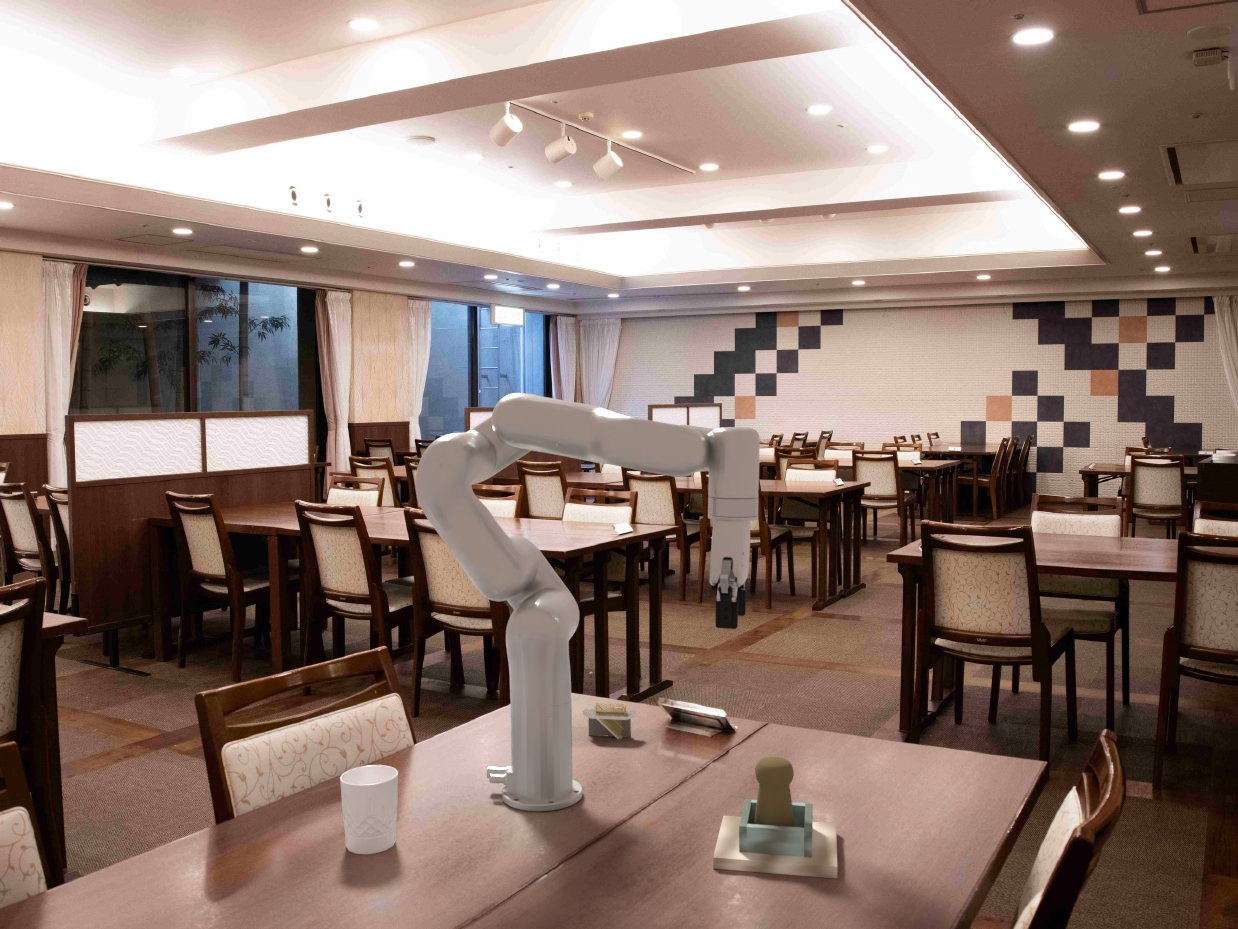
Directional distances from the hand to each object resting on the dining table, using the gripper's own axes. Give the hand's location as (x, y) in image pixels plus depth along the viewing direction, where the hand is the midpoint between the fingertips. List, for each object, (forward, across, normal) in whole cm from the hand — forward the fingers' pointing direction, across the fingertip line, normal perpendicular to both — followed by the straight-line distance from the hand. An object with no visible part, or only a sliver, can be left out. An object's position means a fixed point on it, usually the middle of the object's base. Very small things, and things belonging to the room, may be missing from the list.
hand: (730, 621), depth 152 cm
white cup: (+30, +25, -47) cm, 61 cm away
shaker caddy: (+28, +15, +9) cm, 33 cm away
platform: (+30, -27, -26) cm, 48 cm away
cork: (+27, +14, +8) cm, 32 cm away
